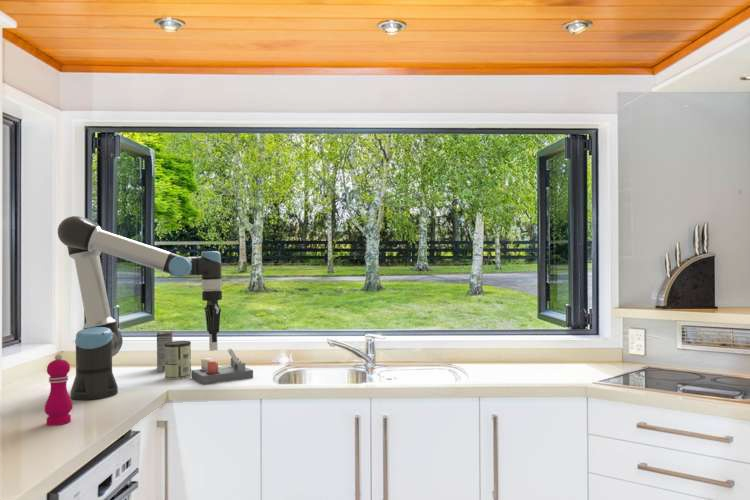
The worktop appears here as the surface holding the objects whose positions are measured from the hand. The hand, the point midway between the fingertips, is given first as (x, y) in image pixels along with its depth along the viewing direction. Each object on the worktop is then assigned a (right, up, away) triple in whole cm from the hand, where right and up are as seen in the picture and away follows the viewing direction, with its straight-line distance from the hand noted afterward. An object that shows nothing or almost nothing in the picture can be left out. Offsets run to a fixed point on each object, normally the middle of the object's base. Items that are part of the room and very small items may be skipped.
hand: (213, 350), depth 227 cm
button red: (0, -10, 0) cm, 10 cm away
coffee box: (-29, -13, +26) cm, 41 cm away
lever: (+9, -8, +6) cm, 13 cm away
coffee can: (-17, -13, +9) cm, 23 cm away
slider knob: (+5, -9, +13) cm, 17 cm away
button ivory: (-5, -10, +6) cm, 12 cm away
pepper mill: (-30, -12, -57) cm, 65 cm away
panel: (+2, -12, +6) cm, 13 cm away
